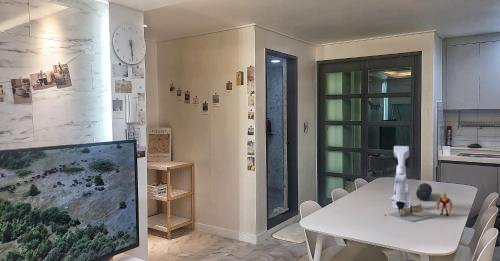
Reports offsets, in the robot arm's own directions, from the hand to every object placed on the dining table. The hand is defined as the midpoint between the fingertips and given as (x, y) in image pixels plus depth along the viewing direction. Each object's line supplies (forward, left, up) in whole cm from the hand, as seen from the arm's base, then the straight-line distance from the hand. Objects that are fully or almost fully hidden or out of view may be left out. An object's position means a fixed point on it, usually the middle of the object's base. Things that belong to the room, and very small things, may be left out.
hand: (400, 213), depth 235 cm
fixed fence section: (-2, +16, -1) cm, 17 cm away
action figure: (+12, +26, -2) cm, 28 cm away
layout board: (+3, +9, -2) cm, 9 cm away
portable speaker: (-26, +53, -2) cm, 59 cm away
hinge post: (-2, +11, -2) cm, 11 cm away
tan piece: (+1, +3, -1) cm, 3 cm away
